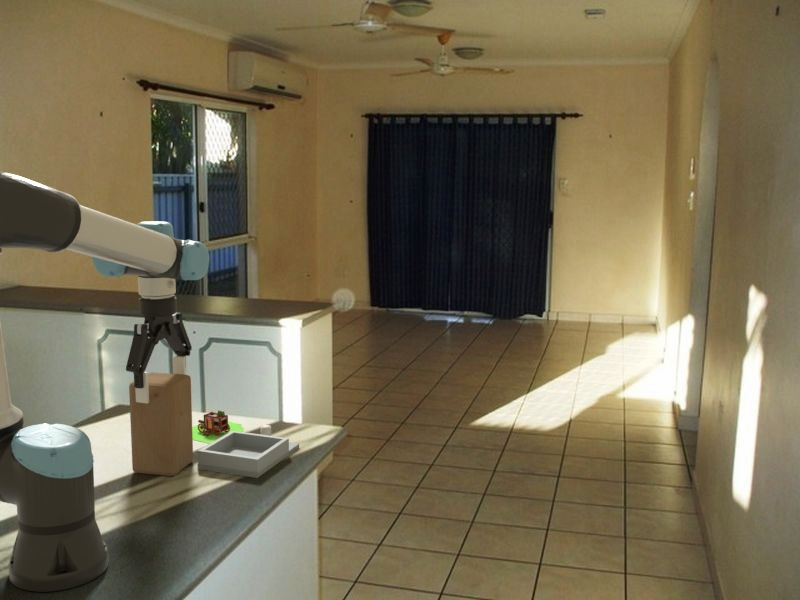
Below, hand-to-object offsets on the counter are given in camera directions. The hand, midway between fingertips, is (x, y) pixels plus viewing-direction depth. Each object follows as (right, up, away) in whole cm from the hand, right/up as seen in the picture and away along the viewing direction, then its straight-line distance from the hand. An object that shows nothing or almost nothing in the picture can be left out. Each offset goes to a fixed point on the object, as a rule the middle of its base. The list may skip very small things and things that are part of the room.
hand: (161, 393), depth 184 cm
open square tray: (+17, -15, +9) cm, 25 cm away
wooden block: (0, -17, +3) cm, 17 cm away
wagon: (+6, -13, +27) cm, 30 cm away
